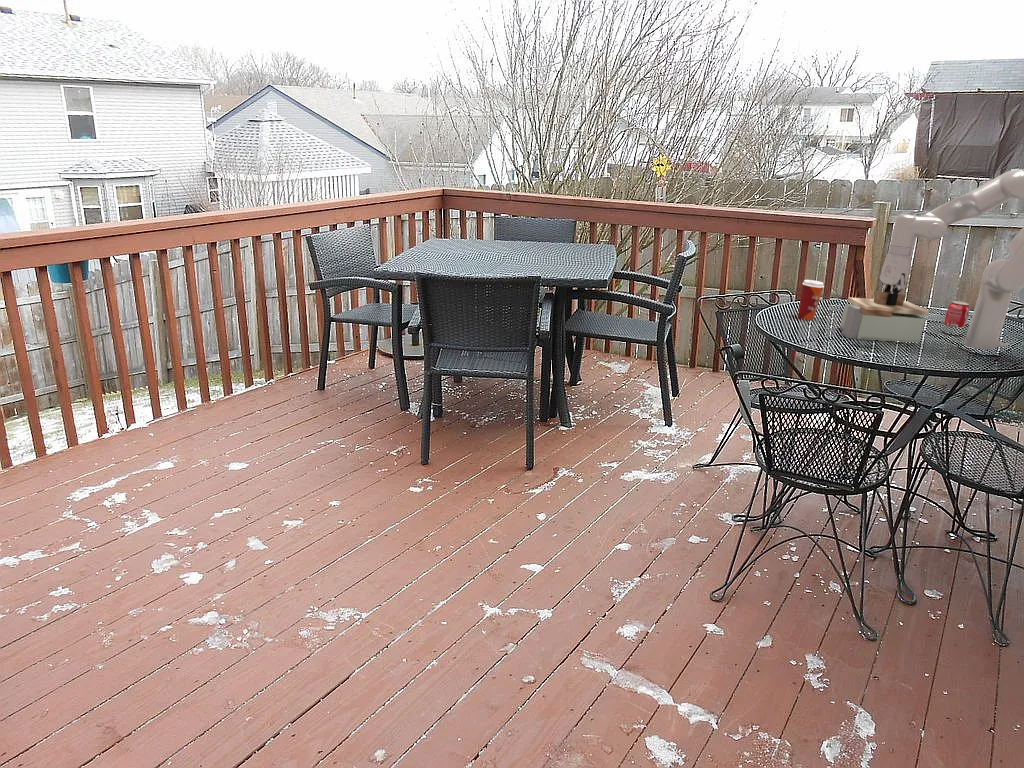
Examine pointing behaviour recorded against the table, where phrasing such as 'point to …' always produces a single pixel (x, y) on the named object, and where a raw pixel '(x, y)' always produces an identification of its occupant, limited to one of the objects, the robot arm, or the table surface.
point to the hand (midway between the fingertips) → (888, 303)
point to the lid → (881, 301)
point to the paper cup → (810, 299)
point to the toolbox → (881, 326)
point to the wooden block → (876, 311)
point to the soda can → (957, 314)
